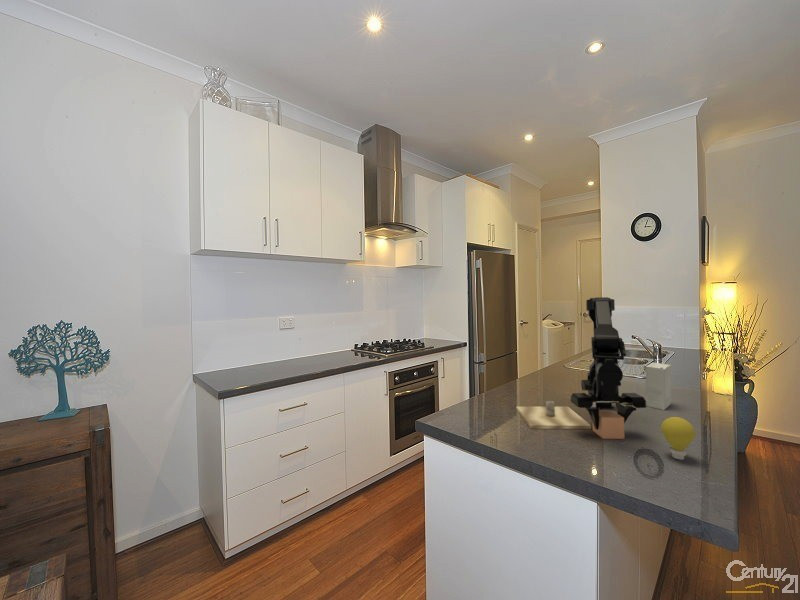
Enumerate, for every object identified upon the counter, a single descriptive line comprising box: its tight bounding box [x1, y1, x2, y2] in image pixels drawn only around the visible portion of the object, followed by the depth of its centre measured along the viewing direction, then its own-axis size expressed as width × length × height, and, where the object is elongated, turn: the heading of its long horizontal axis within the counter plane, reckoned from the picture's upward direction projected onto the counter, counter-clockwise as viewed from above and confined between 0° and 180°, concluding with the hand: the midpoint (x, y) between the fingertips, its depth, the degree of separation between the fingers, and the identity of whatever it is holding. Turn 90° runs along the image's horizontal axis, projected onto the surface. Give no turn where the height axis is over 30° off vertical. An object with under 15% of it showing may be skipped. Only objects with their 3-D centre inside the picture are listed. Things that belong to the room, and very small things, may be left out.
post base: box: [515, 400, 592, 430], centre depth 116 cm, size 18×18×6 cm
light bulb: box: [660, 416, 696, 460], centre depth 87 cm, size 7×7×10 cm
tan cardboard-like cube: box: [591, 410, 625, 440], centre depth 102 cm, size 6×6×6 cm
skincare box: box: [645, 362, 672, 411], centre depth 125 cm, size 8×6×15 cm
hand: (607, 429), depth 102 cm, fingers closed on tan cardboard-like cube, 6 cm apart
